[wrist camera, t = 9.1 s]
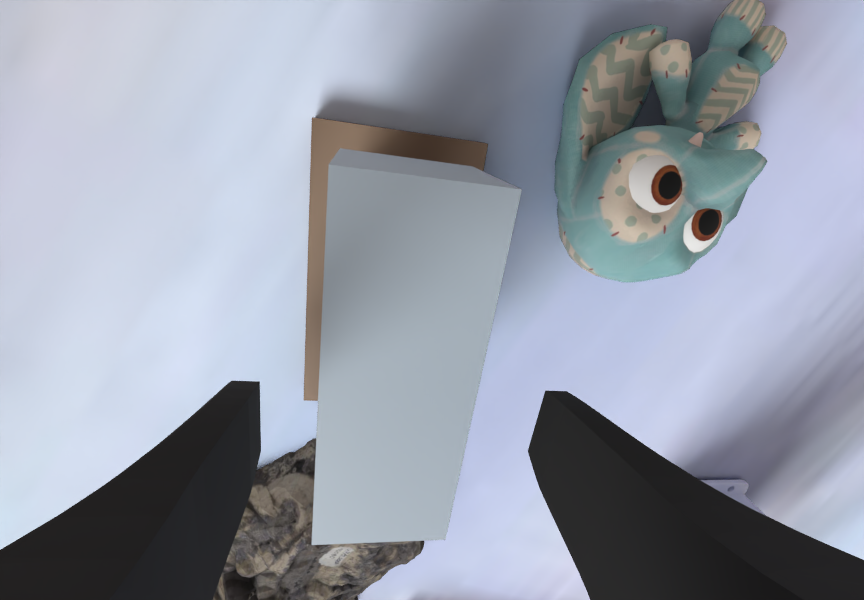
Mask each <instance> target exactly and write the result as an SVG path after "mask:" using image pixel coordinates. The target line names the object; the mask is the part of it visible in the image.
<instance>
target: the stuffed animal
mask: <svg viewBox="0 0 864 600" xmlns="http://www.w3.org/2000/svg"><path fill="white" fill-rule="evenodd" d="M765 15H766V13H765V8H764V4H763V3H762V2H760V1H759V0H734V1H732V2H731V3H730V4H729V5H728V6H727V7H726V8H725V9H724V11H723V12H722V13H721V15H720V16H719V17H718V18H717V20H716V22H715V24H714V26H713V28H712V30H711V35H710V41H709V46H708V49H707V52H705V53H704V54H702V55H701V56H700V57H698V58H697V59H695V61H694V62H693V63H692V57H691V52H690V47H689V43H688V42H685V41H683V40H678V39H674V40H668V41H666V33H667V27H663V26H657V25H651V24H650V25H646V26H642V27H638V28H634V29H629V30H625V31H621V32H617V33H613V34H611V35H610V36H608V37H607V38H606V39H605V40H603V41H602V42H601V43H600V44H598V45H597V46H596V47H595V48H593V49H592V50H591V51H589V52H588V53H587V54H586V55H584V56H583V57H582V58H581V59H579V62H578V65H577V68H576V71H575V75H574V78H573V81H572V83H571V86H570V89H569V91H568V94H567V96H566V99H565V102H564V104H563V118H562V132H561V139H560V143H559V148H558V152H557V157H556V161H555V193H556V196H557V199H558V205H557V215H558V224H559V235H560V238H561V240H562V242H563V244H564V246H565V248H566V250H567V252H568V254H569V256H570V257H571V258H572V259H573V260H574V261H575V262H576V263H577V264H578V265H579V266H580V267H581V268H583V269H584V270H586V271H588V272H590V273H592V274H594V275H596V276H599V277H602V278H606V279H610V280H615V281H620V282H639V281H646V280H651V279H657V278H662V277H668V276H673V275H677V274H682V273H683V272H685V271H687V270H688V269H690V267H691V266H692V265H693V264H694V263H695V262H696V261H697V260H698V259H699V258H701V257H702V256H704V255H706V254H707V253H708V252H709V251H710V250H711V249H712V248H713V247H714V246H715V245H716V244H717V243H718V241H719V239H720V237H721V234H722V232H723V230H724V228H725V226H726V225H727V224H728V223H729V222H730V221H731V220H733V219H734V218H735V217H736V216H737V213H738V211H739V208H740V206H741V203H742V201H743V199H744V196H745V194H746V191H747V189H748V187H749V185H750V184H751V183H752V182H753V181H754V180H755V178H756V177H757V176H758V175H759V174H760V172H761V171H762V170H763V168H764V166H765V165H766V163H767V160H766V158H765V157H763V156H762V155H761V154H760V153H758V152H756V151H755V150H754V148H755V147H756V146H757V145H758V143H759V139H760V136H761V131H760V129H759V126H758V124H757V123H753V122H748V121H746V122H736V123H733V124H729V125H727V126H725V127H721V128H718V129H716V128H717V127H718V126H720V125H721V124H722V123H724V122H725V121H726V120H728V119H729V118H730V117H731V116H733V115H734V114H735V113H737V112H738V111H739V110H741V109H742V108H743V107H744V106H745V105H746V104H748V103H749V102H750V100H751V99H752V97H753V96H754V94H755V93H756V91H757V88H758V86H759V83H760V76H761V75H762V74H764V73H765V72H767V71H768V70H769V69H771V68H772V67H773V65H774V64H775V63H776V62H777V60H778V59H779V58H780V56H781V54H782V52H783V50H784V48H785V46H786V44H787V42H786V36H785V33H784V32H783V31H781V30H780V29H778V28H777V27H775V26H761V24H762V22H763V20H764V17H765ZM652 79H653V82H654V85H655V89H656V92H657V95H658V98H659V100H660V102H661V106H662V113H663V116H664V117H665V118H666V124H665V126H664V125H655V126H643V127H634V128H632V129H631V127H632V125H633V123H634V121H635V119H636V117H637V115H638V113H639V111H640V109H641V107H642V105H643V104H644V102H645V99H646V97H647V94H648V91H649V88H650V85H651V82H652Z"/></svg>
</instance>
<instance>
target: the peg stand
mask: <svg viewBox="0 0 864 600" xmlns="http://www.w3.org/2000/svg"><path fill="white" fill-rule="evenodd" d="M340 148H342V149H349V150H356V151H364V152H371V153H378V154H386V155H393V156H400V157H407V158H415V159H422V160H429V161H437V162H444V163H451V164H458V165H466V166H473V167H475V168H477V169H479V170H481V171H483V170H484V164H485V159H486V153H487V148H488V144H486V143H482V142H475V141H469V140H462V139H455V138H449V137H442V136H435V135H429V134H422V133H415V132H408V131H402V130H395V129H388V128H382V127H375V126H368V125H362V124H355V123H348V122H341V121H335V120H328V119H321V118H312V135H311V169H310V203H309V237H308V272H307V306H306V340H305V374H304V400H313V401H318V390H319V368H320V346H321V324H322V301H323V279H324V257H325V235H326V213H327V191H328V168H329V163H330V162H331V160H332V159H333V158H334V156H335V155H336V153H337V152H338V150H339V149H340Z"/></svg>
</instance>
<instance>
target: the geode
mask: <svg viewBox="0 0 864 600" xmlns="http://www.w3.org/2000/svg"><path fill="white" fill-rule="evenodd" d="M315 457H316V438H315V439H312V440H311V441H309V442H307V444H306V445H305V446H304V447H302V448H300V449H299V450H297V451H296V452H289V453H287V454H285V455H284V456H282V457H280V458H278V459H277V460H275V461H274V462H273V463H271V464H268V465H265V466H264V467H263V468H261V469H258V470H256V474H255V478H254V482H253V486H252V490H251V494H250V497H249V499H248V502H247V505H246V508H245V511H244V514H243V516H242V519H241V522H240V525H239V528H238V530H237V533H236V536H235V539H234V541H233V544H232V547H231V550H230V552H229V555H228V558H227V561H226V563H225V566H224V569H223V572H222V574H221V577H220V580H219V583H218V586H217V588H216V591H215V594H214V597H213V600H358V596H357V595H359V594H360V593H362V592H363V591H364V590H365V589H366V588H367V587H368V586H370V585H371V584H372V583H374V582H376V581H378V580H380V579H381V578H382V576H384V575H385V574H386V573H387V572H388V570H390V569H392V568H394V567H395V566H398V565H400V564H407V563H408V562H409V561H410V560H412V559H414V558H415V556H417V555H418V554H420V553H421V551H422V549H423V546H424V541H401V542H376V543H351V544H327V545H312V523H313V501H314V479H315ZM356 596H357V597H356Z"/></svg>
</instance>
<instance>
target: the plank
mask: <svg viewBox="0 0 864 600" xmlns="http://www.w3.org/2000/svg"><path fill="white" fill-rule="evenodd" d="M521 192H522V189H520V188H518V187H516V186H513V185H511V184H509V183H507V182H505V181H503V180H501V179H498V178H496V177H494V176H492V175H490V174H488V173H486V172H483V171H481V170H479V169H477V168H475V167H473V166H466V165H458V164H451V163H444V162H437V161H429V160H422V159H415V158H407V157H400V156H393V155H386V154H378V153H371V152H364V151H356V150H349V149H342V148H340V149H339V150H338V152H337V153H336V155H335V156H334V158H333V159H332V160H331V162H330V163H329V168H328V191H327V213H326V235H325V257H324V279H323V301H322V324H321V346H320V368H319V390H318V412H317V434H316V457H315V479H314V501H313V523H312V545H327V544H351V543H376V542H401V541H425V540H445V539H446V534H447V530H448V525H449V521H450V516H451V512H452V507H453V502H454V498H455V493H456V489H457V484H458V480H459V475H460V470H461V466H462V461H463V457H464V452H465V448H466V443H467V438H468V434H469V429H470V425H471V420H472V416H473V411H474V406H475V402H476V397H477V393H478V388H479V384H480V379H481V374H482V370H483V365H484V361H485V356H486V352H487V347H488V342H489V338H490V333H491V329H492V324H493V320H494V315H495V310H496V306H497V301H498V297H499V292H500V288H501V283H502V278H503V274H504V269H505V265H506V260H507V256H508V251H509V247H510V242H511V237H512V233H513V228H514V224H515V219H516V215H517V210H518V205H519V201H520V196H521Z"/></svg>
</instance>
